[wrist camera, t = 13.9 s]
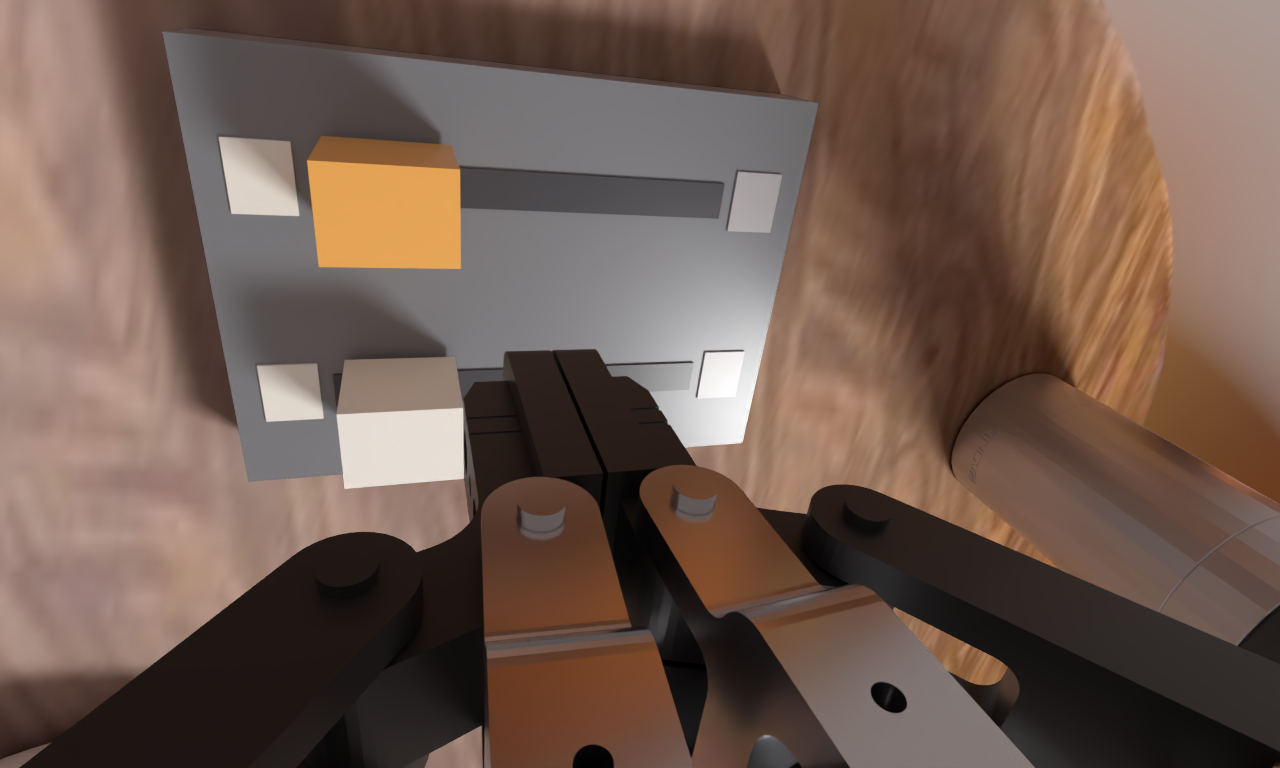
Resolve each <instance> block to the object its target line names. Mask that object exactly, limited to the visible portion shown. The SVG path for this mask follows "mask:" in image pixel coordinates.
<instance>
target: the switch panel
mask: <svg viewBox="0 0 1280 768" xmlns="http://www.w3.org/2000/svg"><path fill="white" fill-rule="evenodd" d="M162 33H163V38H164V43H165V48H166V54H167V59H168V64H169V69H170V74H171V80H172V85H173V90H174V95H175V101H176V106H177V111H178V116H179V122H180V127H181V132H182V137H183V142H184V148H185V153H186V158H187V163H188V169H189V174H190V179H191V184H192V189H193V195H194V200H195V205H196V210H197V216H198V221H199V226H200V231H201V236H202V242H203V247H204V252H205V257H206V263H207V268H208V273H209V278H210V284H211V289H212V294H213V299H214V304H215V310H216V315H217V320H218V325H219V331H220V336H221V341H222V346H223V351H224V357H225V362H226V367H227V372H228V378H229V383H230V388H231V393H232V398H233V404H234V409H235V414H236V419H237V425H238V430H239V435H240V440H241V446H242V451H243V456H244V461H245V466H246V472H247V477H248V482H252V481H264V480H277V479H290V478H302V477H315V476H328V475H340V474H343V469H342V460H341V451H340V442H339V432H338V423H337V408H338V401H339V395H340V388H341V381H342V375H343V368H344V361H345V360H358V359H393V358H429V357H455V360H456V366H457V372H458V379H459V385H460V391H461V397H462V403H463V399H464V397H465V396H466V394H467V393H468V391H469V390H470V388H471V387H472V385H473V384H474V382H487V381H503V360H504V354H505V351H539V350H550V351H552V350H575V349H596V350H597V351H598V353H599V354H600V356H601V358H602V360H603V361H604V363H605V365H606V367H607V369H608V370H609V372H610V374H611V376H612V377H614V376H628V377H629V378H631V379H632V380H634V381H635V382H637V383H638V384H640V385H641V386H643V387H644V388H646V389H647V390H648V391H649V392H650V394H651V395H652V397H653V398H654V400H655V402H656V403H657V405H658V406H659V410H661V411H662V413H663V414H664V416H665V417H666V419H667V420H668V425H671V427H672V428H673V430H674V431H675V433H676V435H677V436H678V438H679V439H680V441H681V442H682V444H683V446H684V447H696V446H709V445H721V444H734V443H742V441H743V437H744V433H745V428H746V424H747V419H748V415H749V410H750V406H751V401H752V397H753V393H754V388H755V384H756V379H757V375H758V370H759V366H760V362H761V357H762V353H763V348H764V344H765V339H766V335H767V331H768V326H769V322H770V317H771V313H772V308H773V304H774V300H775V295H776V291H777V286H778V282H779V277H780V273H781V268H782V264H783V260H784V255H785V251H786V246H787V242H788V237H789V233H790V229H791V224H792V220H793V215H794V211H795V206H796V202H797V198H798V193H799V189H800V184H801V180H802V175H803V171H804V167H805V162H806V158H807V153H808V149H809V144H810V140H811V135H812V131H813V127H814V122H815V118H816V113H817V109H818V104H819V103H816V102H812V101H808V100H804V99H800V98H796V97H791V96H787V95H783V94H775V93H766V92H757V91H748V90H739V89H730V88H721V87H712V86H703V85H694V84H685V83H676V82H667V81H658V80H649V79H641V78H632V77H623V76H614V75H605V74H596V73H587V72H578V71H569V70H560V69H551V68H542V67H533V66H524V65H515V64H506V63H497V62H488V61H479V60H470V59H462V58H453V57H444V56H435V55H426V54H417V53H408V52H399V51H390V50H381V49H372V48H363V47H354V46H345V45H336V44H327V43H318V42H309V41H300V40H292V39H283V38H274V37H265V36H256V35H247V34H238V33H229V32H220V31H211V30H202V29H193V28H186V29H178V30H170V31H162ZM321 136H332V137H346V138H360V139H374V140H389V141H403V142H417V143H431V144H445V145H451V146H452V149H453V152H454V154H455V157H456V160H457V162H458V165H459V168H460V212H461V269H425V268H348V267H319V264H318V255H317V246H316V237H315V228H314V219H313V210H312V201H311V192H310V183H309V174H308V165H307V159H308V158H309V156H310V154H311V153H312V151H313V149H314V147H315V146H316V144H317V142H318V140H319V139H320V137H321ZM463 450H464V413H463Z"/></svg>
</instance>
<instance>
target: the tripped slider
mask: <svg viewBox="0 0 1280 768" xmlns="http://www.w3.org/2000/svg"><path fill="white" fill-rule="evenodd" d="M307 165H308V174H309V183H310V192H311V201H312V210H313V219H314V228H315V237H316V246H317V255H318V264H319V267H348V268H425V269H461V212H460V168H459V165H458V162H457V160H456V157H455V154H454V152H453V149H452V146H451V145H445V144H431V143H417V142H403V141H389V140H374V139H360V138H346V137H332V136H321V137H320V139H319V140H318V142H317V144H316V146H315V147H314V149H313V151H312V153H311V154H310V156H309V158H308V159H307Z"/></svg>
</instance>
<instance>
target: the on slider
mask: <svg viewBox="0 0 1280 768" xmlns="http://www.w3.org/2000/svg"><path fill="white" fill-rule="evenodd" d="M337 423H338V432H339V442H340V451H341V460H342V469H343V478H344V487H345V489H348V488H359V487H371V486H383V485H394V484H406V483H418V482H430V481H441V480H453V479H464V450H463V403H462V397H461V391H460V385H459V379H458V372H457V366H456V360H455V357H429V358H393V359H358V360H345V361H344V368H343V375H342V381H341V388H340V395H339V401H338V408H337Z"/></svg>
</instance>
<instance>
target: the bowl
mask: <svg viewBox="0 0 1280 768" xmlns="http://www.w3.org/2000/svg"><path fill="white" fill-rule="evenodd" d="M51 743H52V742H51ZM49 744H50V743H48V744H45V745H41V746H38V747H35V748H31V749H28V750H25V751H23V752H20V753H17V754H14V755H11V756H8V757H6V758H3V759H1V760H0V768H19V767H21V766H22V765H23V764H25V763H26V762H27V761H29V760H30V759H31V758H32V757H34V756H35V755H36V754H38V753H39V752H40V751H41V750H43V749H44V748H45V747H47V746H48V745H49Z"/></svg>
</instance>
